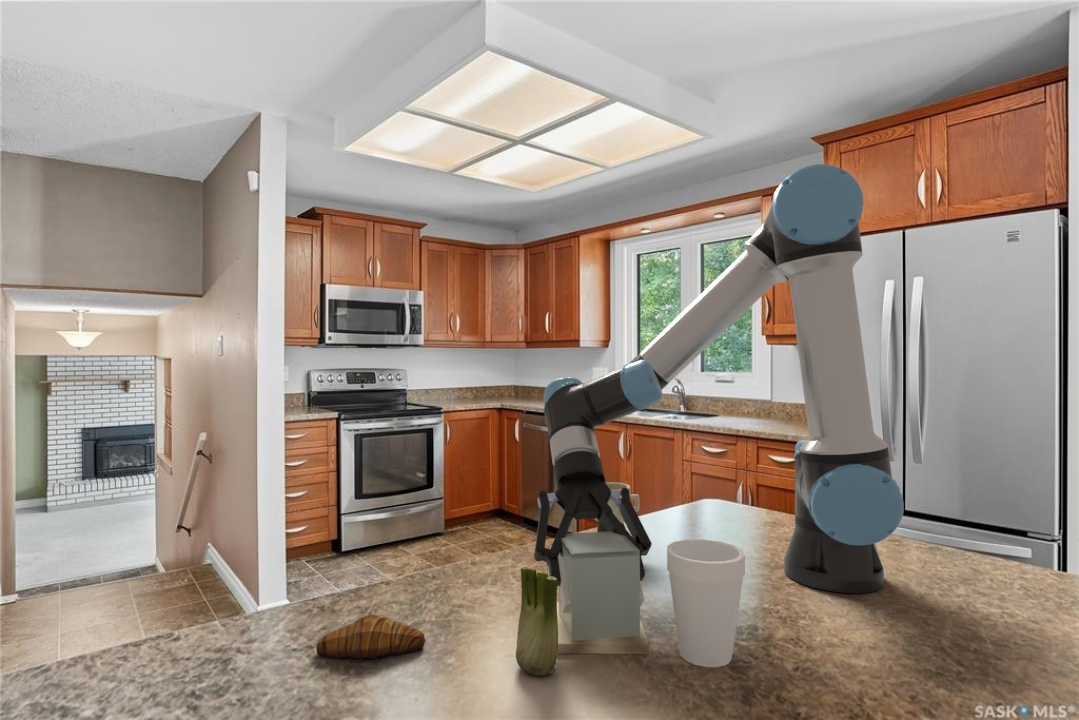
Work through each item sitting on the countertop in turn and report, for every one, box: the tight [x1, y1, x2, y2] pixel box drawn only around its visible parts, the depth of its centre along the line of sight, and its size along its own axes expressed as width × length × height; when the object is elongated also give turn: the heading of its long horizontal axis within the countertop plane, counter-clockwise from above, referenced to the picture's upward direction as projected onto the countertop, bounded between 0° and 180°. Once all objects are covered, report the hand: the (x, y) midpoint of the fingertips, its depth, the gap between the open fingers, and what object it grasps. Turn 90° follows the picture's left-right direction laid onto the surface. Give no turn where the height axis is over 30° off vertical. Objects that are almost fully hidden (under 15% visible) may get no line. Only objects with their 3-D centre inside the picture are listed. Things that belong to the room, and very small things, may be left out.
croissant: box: [315, 613, 426, 660], centre depth 77 cm, size 14×7×5 cm, turn 97°
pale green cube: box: [558, 531, 641, 641], centre depth 82 cm, size 9×9×11 cm
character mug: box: [594, 481, 641, 532], centre depth 114 cm, size 11×7×13 cm, turn 99°
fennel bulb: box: [515, 566, 558, 677], centre depth 73 cm, size 6×5×12 cm
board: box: [557, 601, 650, 655], centre depth 83 cm, size 16×13×1 cm
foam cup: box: [666, 538, 746, 668], centre depth 76 cm, size 10×9×13 cm
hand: (603, 606), depth 79 cm, fingers closed on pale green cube, 9 cm apart
